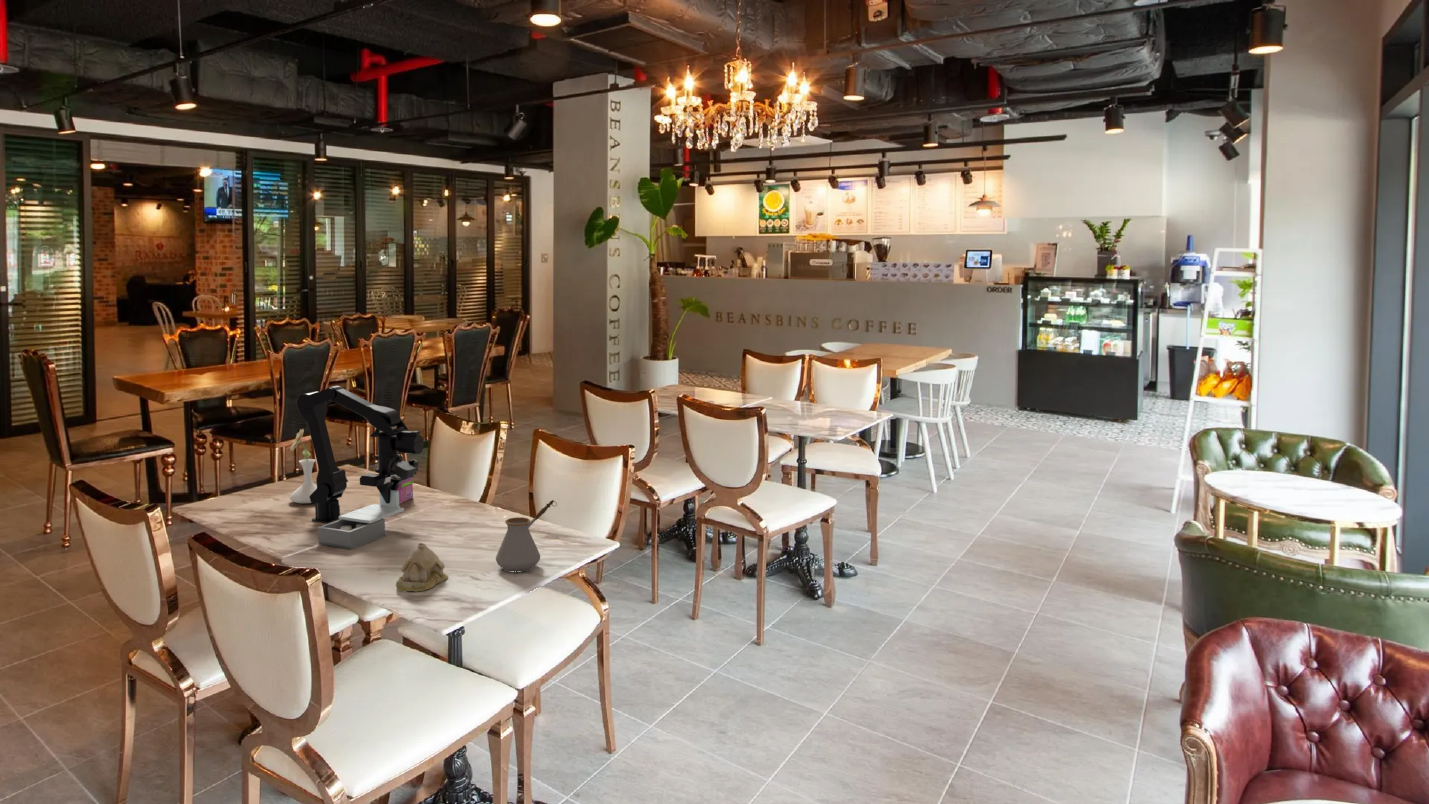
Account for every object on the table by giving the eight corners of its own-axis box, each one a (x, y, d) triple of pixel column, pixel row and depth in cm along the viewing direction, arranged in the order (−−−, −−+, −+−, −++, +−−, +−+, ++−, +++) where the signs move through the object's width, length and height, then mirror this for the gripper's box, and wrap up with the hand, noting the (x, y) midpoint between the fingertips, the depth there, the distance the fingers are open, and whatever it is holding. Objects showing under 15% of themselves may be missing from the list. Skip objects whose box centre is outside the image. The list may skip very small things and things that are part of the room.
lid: (338, 519, 252) (337, 500, 251) (376, 505, 267) (375, 487, 266) (369, 523, 249) (369, 504, 248) (406, 509, 263) (405, 491, 262)
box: (396, 506, 286) (395, 470, 285) (381, 504, 288) (379, 469, 286) (413, 498, 297) (412, 463, 295) (398, 496, 298) (397, 462, 296)
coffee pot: (521, 578, 224) (520, 521, 221) (486, 570, 229) (485, 514, 226) (571, 555, 242) (571, 502, 240) (538, 548, 248) (538, 496, 245)
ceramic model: (409, 572, 226) (408, 534, 225) (452, 573, 226) (451, 536, 224) (388, 592, 212) (386, 552, 211) (434, 593, 212) (433, 554, 211)
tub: (318, 544, 246) (318, 527, 245) (354, 531, 259) (353, 514, 258) (350, 549, 242) (349, 532, 241) (385, 535, 255) (384, 518, 254)
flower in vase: (297, 497, 294) (293, 423, 290) (332, 497, 295) (329, 423, 291) (282, 507, 281) (278, 431, 277) (319, 507, 282) (316, 431, 278)
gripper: (389, 460, 251) (390, 513, 253) (430, 448, 268) (431, 498, 270) (357, 456, 254) (359, 509, 257) (400, 445, 272) (401, 494, 274)
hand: (389, 502), depth 264 cm, fingers closed on lid
